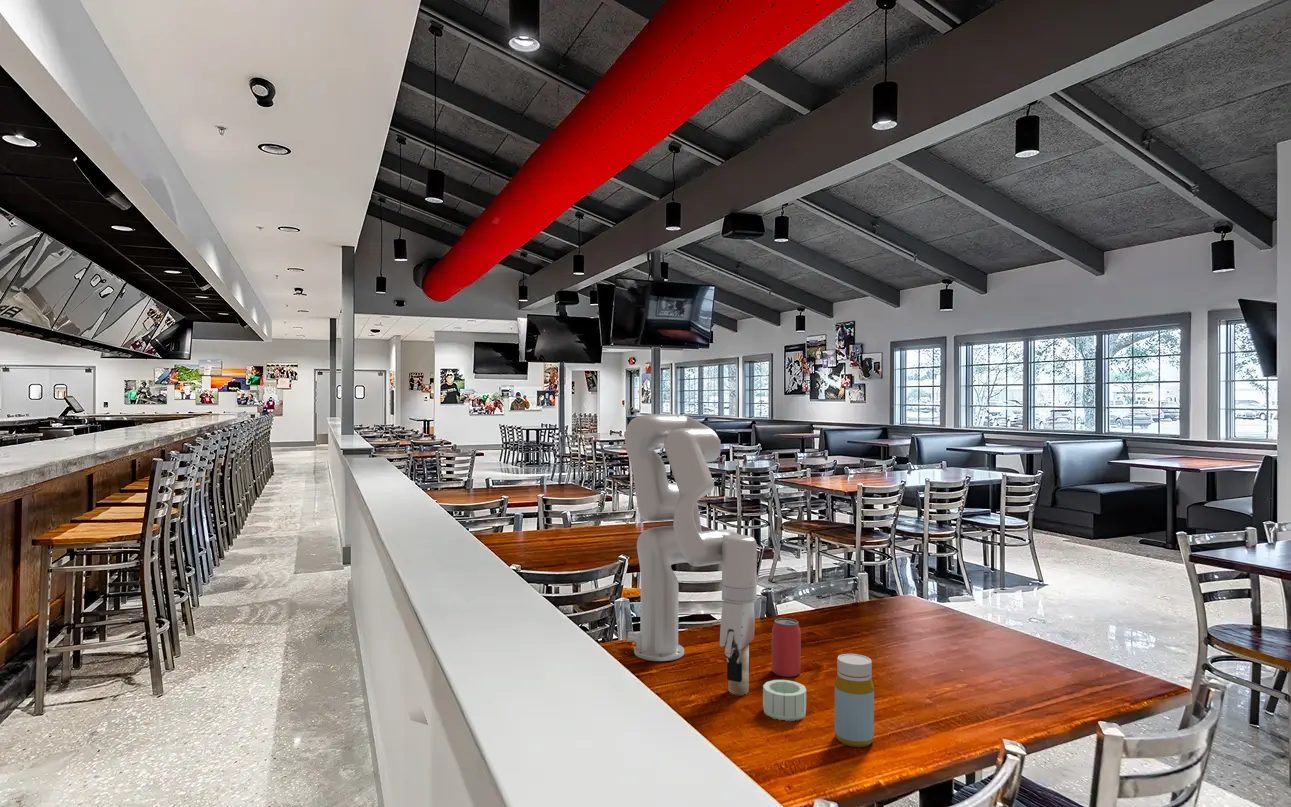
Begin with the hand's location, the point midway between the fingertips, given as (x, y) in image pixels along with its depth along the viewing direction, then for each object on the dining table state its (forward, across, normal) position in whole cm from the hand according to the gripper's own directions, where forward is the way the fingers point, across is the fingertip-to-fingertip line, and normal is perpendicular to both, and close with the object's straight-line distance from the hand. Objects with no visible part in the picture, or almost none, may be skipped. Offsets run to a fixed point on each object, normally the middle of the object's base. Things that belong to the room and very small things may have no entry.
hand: (738, 675), depth 159 cm
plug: (+3, 0, 0) cm, 3 cm away
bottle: (+4, +12, +27) cm, 30 cm away
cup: (+3, +6, +12) cm, 14 cm away
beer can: (+4, -16, +6) cm, 17 cm away
